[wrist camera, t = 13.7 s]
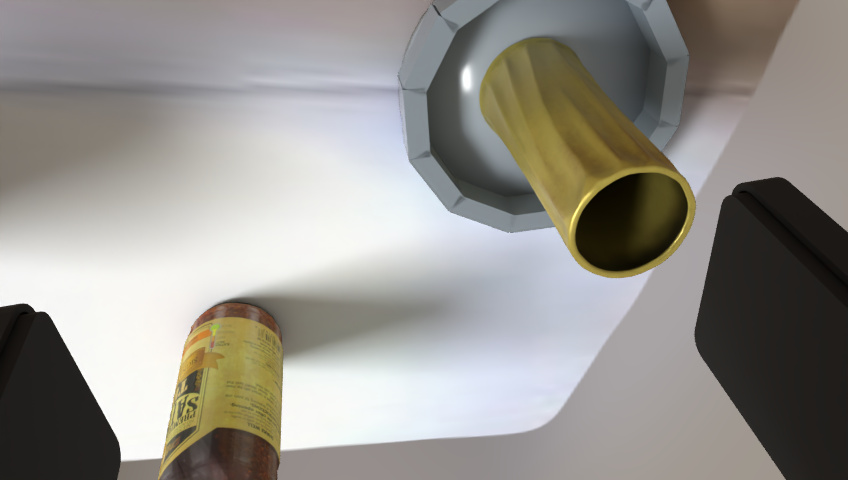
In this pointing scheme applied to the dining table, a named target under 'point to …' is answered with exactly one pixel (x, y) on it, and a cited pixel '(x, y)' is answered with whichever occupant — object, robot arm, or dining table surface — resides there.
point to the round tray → (470, 59)
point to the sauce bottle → (227, 399)
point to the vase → (586, 160)
